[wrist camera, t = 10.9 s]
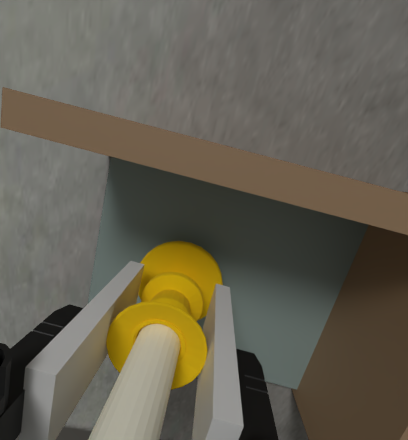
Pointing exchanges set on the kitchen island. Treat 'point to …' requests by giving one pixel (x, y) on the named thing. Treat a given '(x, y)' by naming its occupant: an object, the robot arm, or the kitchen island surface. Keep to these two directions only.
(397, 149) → the kitchen island surface
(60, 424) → the robot arm
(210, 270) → the candle
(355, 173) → the kitchen island surface
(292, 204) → the open room model
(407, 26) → the kitchen island surface
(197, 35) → the kitchen island surface
